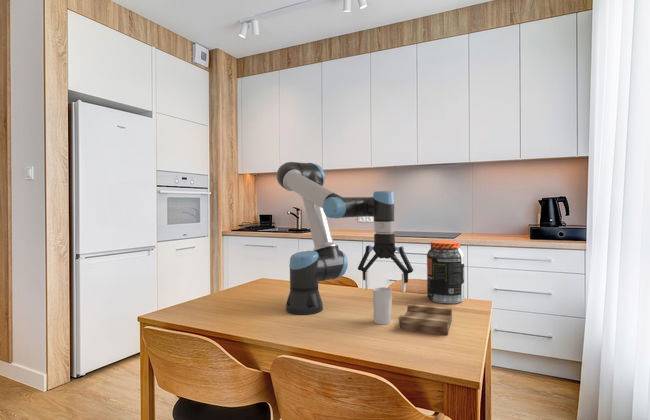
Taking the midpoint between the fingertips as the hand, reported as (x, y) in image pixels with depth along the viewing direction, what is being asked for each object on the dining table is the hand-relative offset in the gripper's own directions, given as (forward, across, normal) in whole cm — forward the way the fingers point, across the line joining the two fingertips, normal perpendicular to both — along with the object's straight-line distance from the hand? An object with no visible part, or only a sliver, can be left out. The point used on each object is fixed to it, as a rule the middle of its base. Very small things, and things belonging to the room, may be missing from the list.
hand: (385, 290), depth 140 cm
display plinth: (+12, +14, +1) cm, 19 cm away
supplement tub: (+12, +18, +38) cm, 44 cm away
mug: (+12, 0, 0) cm, 12 cm away
